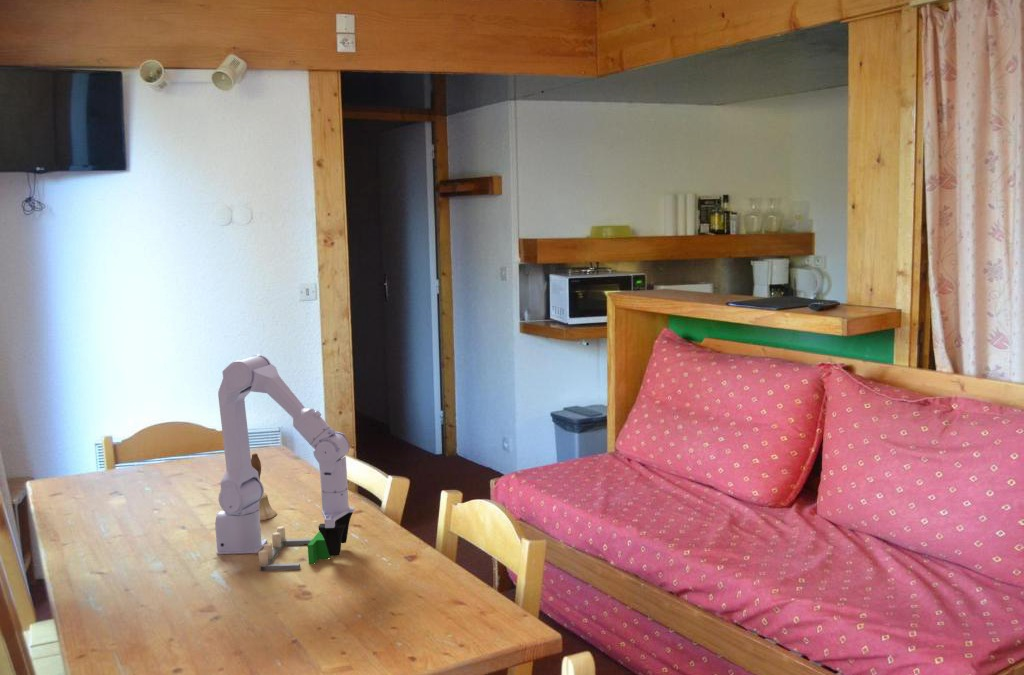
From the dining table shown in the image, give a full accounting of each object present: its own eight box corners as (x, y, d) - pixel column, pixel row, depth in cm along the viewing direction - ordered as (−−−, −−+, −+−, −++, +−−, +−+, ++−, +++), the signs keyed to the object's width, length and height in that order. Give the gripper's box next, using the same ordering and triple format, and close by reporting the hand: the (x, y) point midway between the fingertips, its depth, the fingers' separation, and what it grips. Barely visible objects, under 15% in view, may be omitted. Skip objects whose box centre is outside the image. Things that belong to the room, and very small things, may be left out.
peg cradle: (258, 571, 205) (257, 553, 205) (278, 543, 222) (277, 526, 222) (298, 570, 205) (297, 552, 205) (315, 542, 222) (314, 525, 221)
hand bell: (235, 519, 240) (230, 457, 238) (256, 509, 248) (251, 448, 246) (263, 522, 237) (258, 459, 235) (283, 512, 245) (279, 451, 243)
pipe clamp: (325, 565, 208) (324, 544, 207) (308, 565, 208) (307, 545, 208) (339, 546, 219) (338, 526, 218) (323, 546, 219) (322, 527, 219)
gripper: (346, 498, 204) (350, 560, 206) (358, 479, 218) (361, 537, 220) (313, 499, 204) (317, 561, 206) (327, 480, 219) (330, 537, 220)
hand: (338, 548), depth 213 cm, fingers open, 7 cm apart
